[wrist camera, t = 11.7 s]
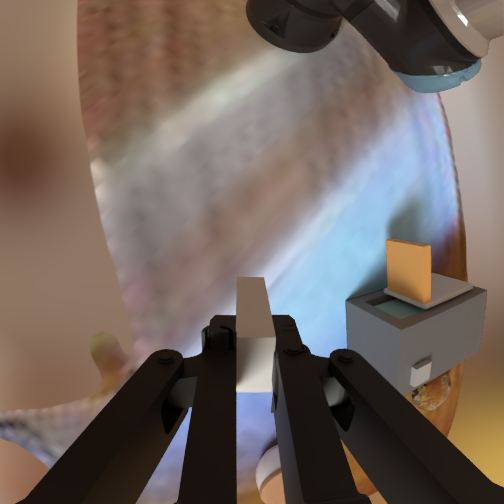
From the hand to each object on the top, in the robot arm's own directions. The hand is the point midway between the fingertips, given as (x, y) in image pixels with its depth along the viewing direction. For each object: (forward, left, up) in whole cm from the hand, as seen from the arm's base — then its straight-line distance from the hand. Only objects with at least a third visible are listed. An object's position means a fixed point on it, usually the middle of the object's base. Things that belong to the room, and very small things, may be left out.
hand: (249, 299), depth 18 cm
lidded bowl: (+41, +6, -25) cm, 48 cm away
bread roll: (+39, +41, -25) cm, 62 cm away
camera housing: (+18, +30, -25) cm, 43 cm away
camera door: (+7, +33, -23) cm, 40 cm away
